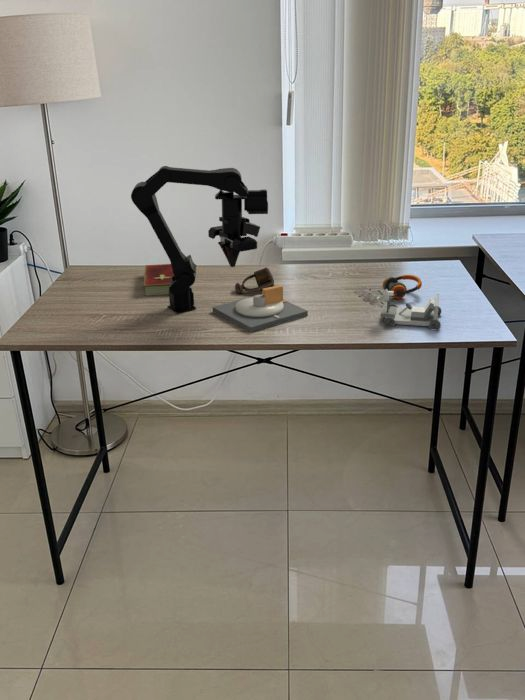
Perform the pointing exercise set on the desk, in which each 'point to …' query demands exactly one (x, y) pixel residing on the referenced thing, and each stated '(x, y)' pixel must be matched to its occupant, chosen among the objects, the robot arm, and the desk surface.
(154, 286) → the hardcover book
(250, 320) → the dial board
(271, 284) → the brown curved looped piece
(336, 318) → the desk surface
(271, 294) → the dial
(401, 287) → the headphones
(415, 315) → the toy car
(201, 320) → the desk surface
